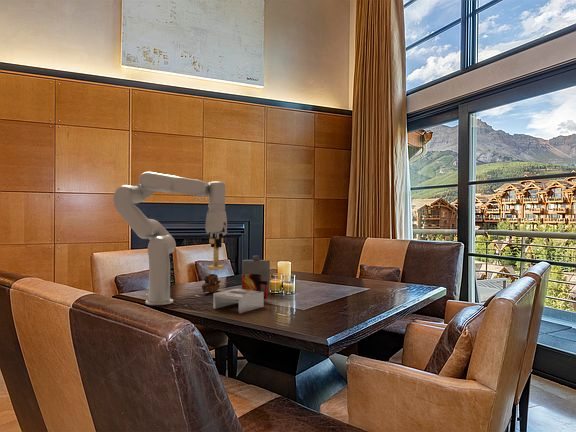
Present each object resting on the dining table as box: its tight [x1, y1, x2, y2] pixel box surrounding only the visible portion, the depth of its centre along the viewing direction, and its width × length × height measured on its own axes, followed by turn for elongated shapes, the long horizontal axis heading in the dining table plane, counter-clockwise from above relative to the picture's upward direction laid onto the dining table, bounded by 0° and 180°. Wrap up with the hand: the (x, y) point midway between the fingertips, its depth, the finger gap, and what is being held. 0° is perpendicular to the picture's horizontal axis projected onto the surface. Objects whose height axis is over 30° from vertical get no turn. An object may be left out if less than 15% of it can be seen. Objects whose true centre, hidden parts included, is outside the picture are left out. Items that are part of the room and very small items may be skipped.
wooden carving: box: [201, 273, 222, 293], centre depth 227 cm, size 16×5×10 cm, turn 164°
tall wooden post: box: [206, 237, 225, 271], centre depth 196 cm, size 3×8×14 cm, turn 146°
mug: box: [241, 274, 269, 300], centre depth 207 cm, size 10×14×12 cm
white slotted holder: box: [212, 288, 265, 314], centre depth 189 cm, size 16×16×7 cm
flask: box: [241, 255, 271, 295], centre depth 226 cm, size 15×6×20 cm, turn 88°
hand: (216, 246), depth 196 cm, fingers closed on tall wooden post, 2 cm apart
